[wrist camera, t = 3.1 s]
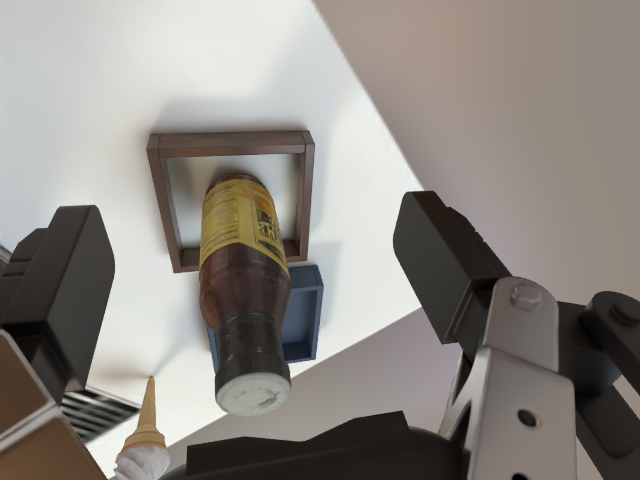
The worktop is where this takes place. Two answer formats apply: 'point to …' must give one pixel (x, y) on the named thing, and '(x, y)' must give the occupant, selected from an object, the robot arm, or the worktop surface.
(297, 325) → the slate tray
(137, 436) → the ice cream cone
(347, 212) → the worktop surface
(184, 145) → the walnut frame
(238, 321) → the sauce bottle
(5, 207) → the worktop surface
